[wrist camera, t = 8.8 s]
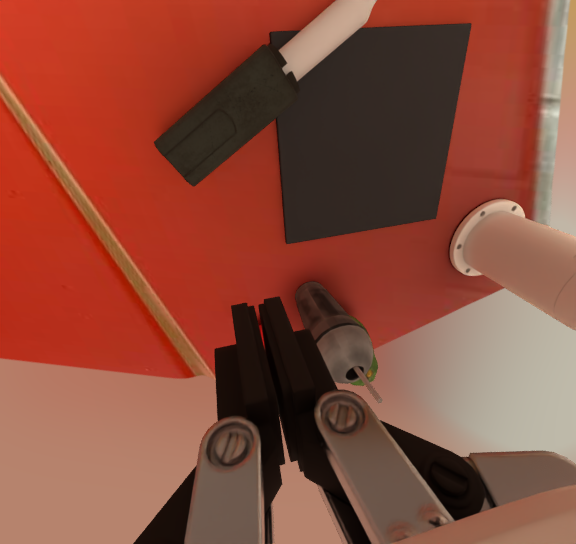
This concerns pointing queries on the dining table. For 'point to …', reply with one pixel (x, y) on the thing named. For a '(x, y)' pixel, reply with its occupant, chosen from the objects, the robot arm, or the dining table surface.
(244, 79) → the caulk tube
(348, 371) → the beverage cup
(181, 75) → the dining table surface
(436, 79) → the mat
